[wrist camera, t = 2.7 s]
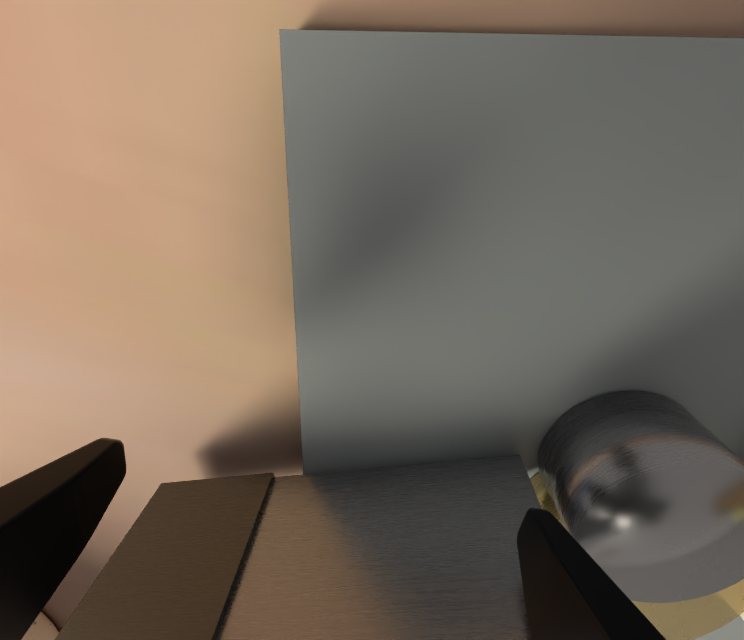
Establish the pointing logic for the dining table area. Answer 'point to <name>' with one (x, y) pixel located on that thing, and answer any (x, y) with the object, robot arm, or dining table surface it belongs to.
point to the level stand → (510, 237)
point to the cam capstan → (436, 540)
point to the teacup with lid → (41, 629)
